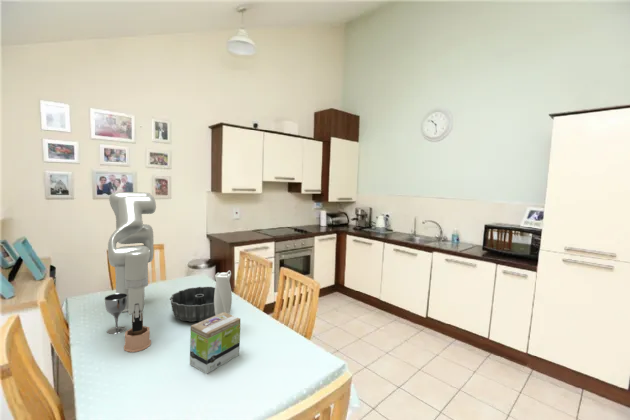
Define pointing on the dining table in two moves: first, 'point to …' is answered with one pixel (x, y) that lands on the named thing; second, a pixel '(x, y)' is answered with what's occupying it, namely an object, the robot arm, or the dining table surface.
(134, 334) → the brown wooden dowel
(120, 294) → the wine glass
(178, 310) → the bundt pan
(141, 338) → the octagonal terracotta pot
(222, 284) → the skyscraper
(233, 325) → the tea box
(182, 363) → the dining table surface
